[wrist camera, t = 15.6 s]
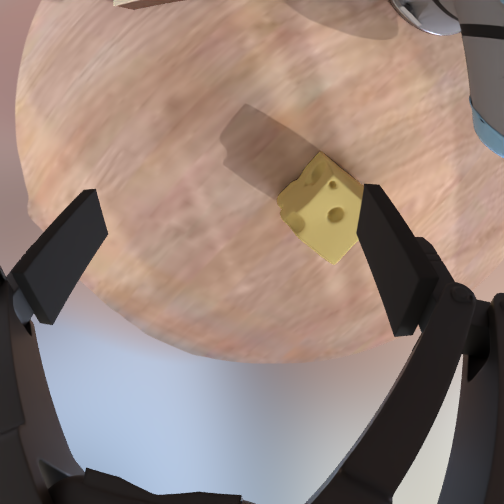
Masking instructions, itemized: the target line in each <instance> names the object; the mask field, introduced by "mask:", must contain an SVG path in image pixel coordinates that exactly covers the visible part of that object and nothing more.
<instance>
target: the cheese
mask: <svg viewBox="0 0 504 504" xmlns="http://www.w3.org/2000/svg"><path fill="white" fill-rule="evenodd" d="M363 189H364V186H363V185H362V184H360V183H359V182H358V181H356V180H355V179H354V178H353V177H352V176H350V175H349V174H348V173H346V172H345V171H344V170H343V169H341V168H340V167H339V166H338V165H337V164H335V163H334V162H333V161H332V160H331V159H330V158H328V157H327V156H326V155H325V154H324V153H323V152H321V151H320V152H319V153H318V154H317V155H316V156H315V157H314V158H313V159H312V161H311V162H310V163H309V164H308V165H307V166H306V168H305V169H304V170H303V172H302V174H301V176H300V177H299V178H298V179H297V180H296V181H292V182H291V183H290V184H289V185H288V186H287V187H286V188H285V189H284V190H283V191H282V192H281V193H280V194H279V195H278V198H277V204H278V206H279V207H280V208H281V209H282V210H281V212H280V215H281V218H282V220H283V221H284V222H285V223H286V224H287V225H288V226H289V227H290V228H291V229H292V231H293V232H294V233H295V235H296V236H297V237H298V238H299V239H300V240H301V241H302V242H304V243H305V244H306V245H308V246H309V247H310V248H311V249H313V250H314V251H315V252H316V253H317V254H319V255H320V256H321V257H322V258H324V259H325V260H326V261H328V262H329V263H331V264H333V265H335V264H336V263H337V262H338V261H339V260H340V259H341V258H342V257H343V256H344V255H345V253H346V252H347V251H348V250H349V249H350V248H351V247H352V246H353V245H354V244H355V243H356V242H357V241H358V240H359V239H358V237H357V234H356V231H357V226H358V220H359V214H360V208H361V202H362V196H363Z"/></svg>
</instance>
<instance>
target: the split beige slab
mask: <svg viewBox="0 0 504 504" xmlns="http://www.w3.org/2000/svg"><path fill="white" fill-rule="evenodd" d="M176 1H183V0H113V5H114V6H119V7H124V8H128V9H133V10H135V9H139V8H144V7H149V6H154V5H159V4H164V3H170V2H176Z"/></svg>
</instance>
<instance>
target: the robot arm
mask: <svg viewBox="0 0 504 504" xmlns="http://www.w3.org/2000/svg"><path fill="white" fill-rule="evenodd" d="M389 1H390V3H391V4H392V6H393V7H394V9H395V10H396V11H397V12H398V13H399V15H400V16H401V17H402V18H404V19H405V20H406V21H407V22H408V23H410V24H411V25H412V26H414V27H416V28H417V29H419V30H421V31H424V32H426V33H429V34H434V35H453V34H457V33H459V32H461V33H462V39H463V45H464V50H465V57H466V63H467V70H468V78H469V87H470V96H469V102H470V105H471V108H472V115H473V125H474V129H475V132H476V133H477V135H478V136H479V139H480V140H481V141H482V142H483V143H484V144H485V145H486V146H487V147H488V148H489V149H490V150H492V151H493V152H494V153H496V154H497V155H499V156H501V157H502V158H504V0H389ZM356 234H357V237H358V239H359V241H360V244H361V246H362V249H363V251H364V254H365V256H366V259H367V261H368V264H369V266H370V269H371V272H372V274H373V277H374V280H375V282H376V285H377V288H378V290H379V293H380V296H381V299H382V302H383V304H384V307H385V310H386V313H387V316H388V319H389V322H390V325H391V328H392V331H393V334H394V337H397V336H408V335H413V333H414V332H415V330H416V328H417V326H418V324H419V327H420V329H421V332H422V333H421V335H420V337H419V339H418V341H417V342H416V344H415V346H414V348H413V350H412V353H411V354H410V356H409V358H408V360H407V362H406V364H405V366H404V367H403V369H402V371H401V373H400V374H399V376H398V378H397V379H396V381H395V383H394V385H393V386H392V388H391V390H390V392H389V393H388V395H387V396H386V398H385V399H384V401H383V403H382V404H381V406H380V407H379V409H378V411H377V412H376V413H375V415H374V417H373V418H372V420H371V421H370V423H369V424H368V425H367V427H366V428H365V430H364V431H363V433H362V434H361V436H360V437H359V438H358V440H357V441H356V443H355V444H354V445H353V447H352V448H351V449H350V451H349V452H348V453H347V455H346V456H345V458H344V459H343V460H342V461H341V462H340V464H339V465H338V466H337V467H336V469H335V470H334V471H333V473H332V474H331V475H330V476H329V477H328V478H327V480H326V481H325V482H324V483H323V484H322V486H321V487H320V488H319V489H318V490H317V491H316V492H315V493H314V495H312V496H311V498H310V499H309V500H308V501H307V502H306V503H305V504H392V497H393V495H394V493H395V491H396V489H397V488H398V486H399V485H400V483H401V481H402V480H403V478H404V476H405V475H406V473H407V471H408V470H409V468H410V466H411V465H412V463H413V461H414V460H415V458H416V456H417V454H418V452H419V450H420V449H421V447H422V445H423V443H424V441H425V439H426V437H427V435H428V433H429V431H430V429H431V427H432V425H433V423H434V421H435V419H436V417H437V414H438V412H439V410H440V408H441V405H442V403H443V401H444V399H445V396H446V394H447V391H448V389H449V386H450V384H451V381H452V379H453V376H454V373H455V371H456V367H457V365H458V362H459V360H460V357H461V354H463V367H462V380H461V390H460V399H459V407H458V414H457V421H456V427H455V433H454V439H453V444H452V449H451V453H450V458H449V463H448V467H447V471H446V475H445V479H444V482H443V486H442V490H441V493H440V496H439V500H438V503H437V504H504V293H498V294H496V295H495V296H494V298H493V300H492V302H491V303H490V302H486V301H481V300H477V299H476V297H475V295H474V293H473V292H472V291H471V290H470V289H469V288H468V287H466V286H465V285H463V284H460V283H456V282H455V281H454V279H453V278H452V276H451V274H450V273H449V271H448V270H447V268H446V266H445V265H444V263H443V261H441V258H440V257H439V255H437V252H436V250H435V249H434V247H433V246H432V244H430V243H429V242H428V241H427V240H425V239H424V238H423V237H415V236H414V235H413V233H412V231H411V230H410V228H409V227H408V225H407V224H406V222H405V221H404V219H403V218H402V216H401V215H400V213H399V212H398V210H397V209H396V207H395V206H394V205H393V203H392V202H391V200H390V199H389V197H388V196H387V195H386V193H385V192H384V190H383V189H382V188H381V186H380V185H376V184H364V189H363V196H362V202H361V208H360V214H359V220H358V226H357V231H356ZM107 235H108V231H107V228H106V224H105V221H104V218H103V214H102V210H101V207H100V203H99V199H98V196H97V192H96V189H89V190H83V191H82V192H81V193H80V194H79V195H78V196H77V197H76V198H75V199H74V200H73V201H72V202H71V203H70V204H69V206H68V207H67V208H66V209H65V210H64V211H63V212H62V213H61V214H60V215H59V216H58V217H57V218H56V219H55V220H54V221H53V223H52V224H51V225H50V226H49V227H48V228H47V229H46V230H45V232H44V233H43V234H42V235H41V236H40V237H39V238H38V240H37V241H36V242H35V243H34V244H33V245H31V247H30V248H29V249H28V250H27V251H26V254H24V255H23V256H22V258H21V260H19V261H18V262H17V264H16V265H15V266H14V268H13V269H12V270H11V272H10V273H9V274H8V275H7V277H6V276H5V274H4V272H3V270H2V268H1V266H0V504H255V503H252V502H249V501H245V500H243V498H242V496H241V495H230V494H217V493H206V492H192V493H181V494H166V495H156V494H152V493H150V492H148V491H146V490H144V489H142V488H139V487H138V486H135V485H133V484H131V483H130V482H127V481H126V480H124V479H122V478H120V477H117V476H113V475H109V474H106V473H102V472H99V471H96V470H92V469H89V468H86V471H85V472H84V471H83V469H82V468H81V467H80V466H79V465H78V463H77V462H76V461H75V459H74V458H73V456H72V454H71V451H70V449H69V447H68V444H67V441H66V439H65V436H64V434H63V431H62V428H61V425H60V423H59V420H58V417H57V414H56V411H55V408H54V405H53V401H52V398H51V395H50V391H49V388H48V384H47V381H46V377H45V373H44V369H43V366H42V361H41V357H40V353H39V348H38V343H37V339H36V333H35V328H34V324H33V322H32V321H31V317H32V315H33V314H35V315H36V317H37V319H38V321H39V322H40V323H43V324H50V325H53V324H54V322H55V320H56V318H57V316H58V315H59V313H60V311H61V309H62V308H63V306H64V304H65V302H66V301H67V299H68V297H69V295H70V294H71V292H72V290H73V289H74V287H75V285H76V283H77V282H78V280H79V279H80V277H81V275H82V274H83V272H84V271H85V269H86V267H87V266H88V264H89V263H90V261H91V260H92V258H93V256H94V255H95V253H96V252H97V250H98V249H99V247H100V246H101V244H102V243H103V241H104V240H105V238H106V237H107Z"/></svg>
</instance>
